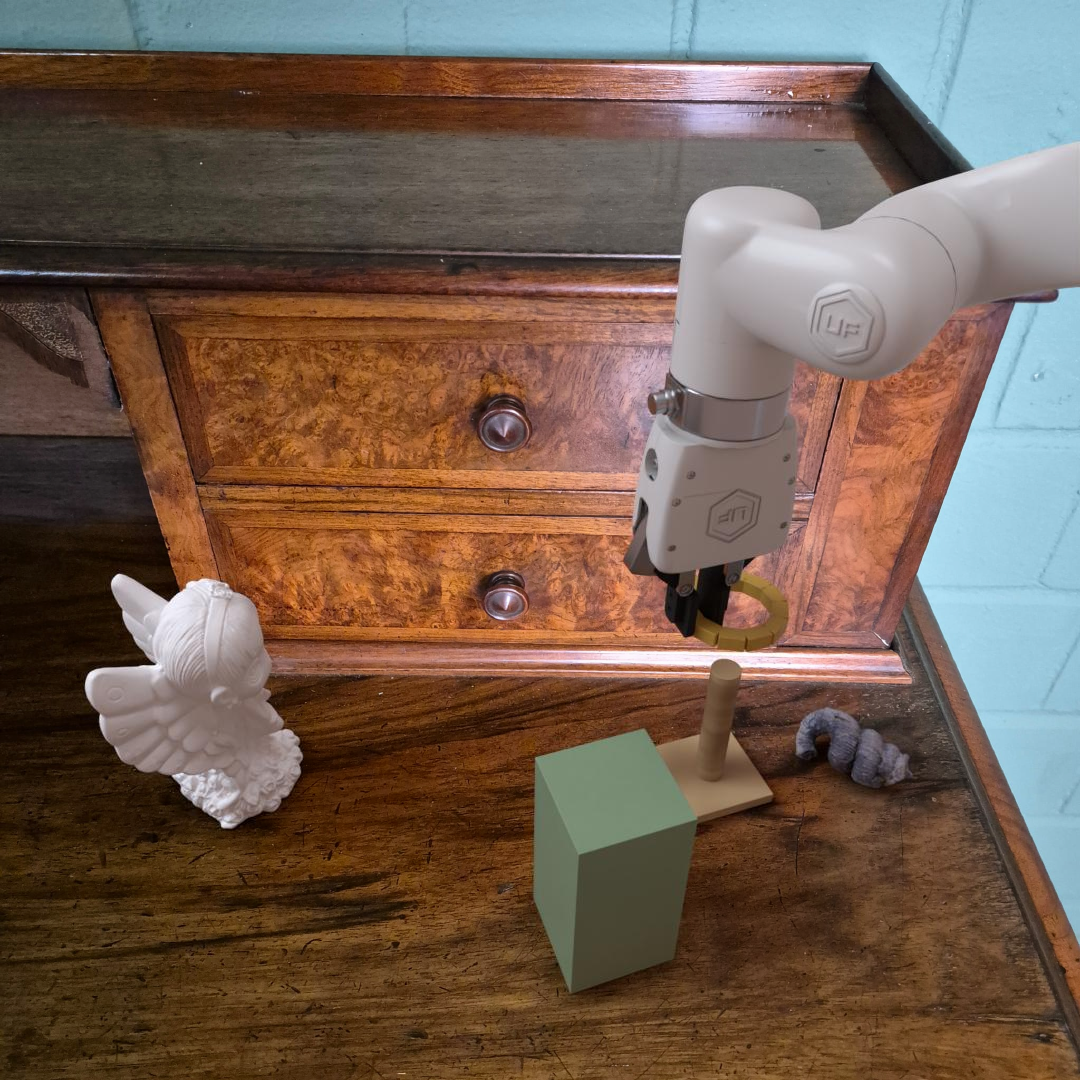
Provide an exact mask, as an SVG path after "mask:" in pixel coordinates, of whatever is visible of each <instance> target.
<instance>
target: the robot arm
mask: <svg viewBox="0 0 1080 1080" xmlns="http://www.w3.org/2000/svg"><path fill="white" fill-rule="evenodd" d="M677 281H678V282H677V288H676V289H677V291H676V298H675V299H676V300H675V309H674V320H673V329H672V337H671V348H670V358H669V367H668V372H665V379H664V380H665V381H664V388H661V389H659V391H657V392H650V393H649V394H648V396H647V408H648V412H649V413H650V415H653V416H655V418H654V420H653V423H652V426H651V428H650V432H649V435H648V438H647V441H646V444H645V446H644V447H645V448H644V451H643V455H642V459H641V463H640V467H639V471H638V478H637V483H636V488H635V495H634V501H633V510H632V520H631V521H632V522H631V523H632V525H631V526H632V527H631V528H632V530H631V531H632V535H633V537H632V538H631V539H632V540H631V541H630V544H629V545H628V548H627V550H626V551H625V554H624V556H623V557H622V562H623V564H624V565H625V567H626V568H627V570H628V571H629V573H630V574H631V575H635V576H642V577H657V578H658V580H660V581H662V582H663V583H664V584H666V592H665V593H666V594H665V600H664V614H665V617H666V618H667V620H668V621H669V623H670V624H674V625H675V627H676V628H677V629H678V631H679V632H680V634H681V636H682V637H683V638H685V639H687V638H691V637H693V634H694V633H695V626H696V619H697V613H698V609H699V611H700V612H701V613H702V615H703V616H704V617H705V618H707V619H709V620H711V621H713V622H714V623H716V624H718V625H720V626H723V625H724V618H725V613H726V611H727V610H728V608H729V607H728V606H729V602H730V601H729V600H730V595H731V591H730V589H731V586H733V585H735V584H737V583H738V582H739V581H740V578H741V574H742V571H743V570H744V569H745V568H747V566H749V565H750V564H751V562H753V561H754V560H755V559H756V558H757V557H761V556H765V555H768V554H771V553H773V552H776V551H777V550H779V549H781V548H782V547H783V546H784V545H785V543H787V540H788V537H789V534H790V530H791V525H792V520H793V514H794V509H795V508H794V506H795V502H796V501H795V500H796V491H797V481H798V469H799V468H798V467H799V445H798V444H799V443H798V427H797V419H796V418H795V416H794V415H793V414H792V413H791V412H789V411H788V410H789V404H790V399H791V395H792V391H793V390H792V389H793V384H794V379H795V378H794V377H795V374H796V369H797V363H798V360H799V361H801V362H803V363H805V364H806V365H809V366H810V367H812V368H815V369H817V370H819V371H822V372H824V373H826V374H828V375H830V376H833V377H838V378H841V379H843V380H851V381H857V382H858V381H859V382H869V381H877V380H881V379H885V378H888V377H890V376H892V375H894V374H897V373H899V372H900V371H902V370H904V369H905V368H906V367H908V366H909V365H910V364H911V363H913V362H914V361H915V360H916V359H917V358H918V357H919V356H920V355H921V353H922V352H923V351H924V350H925V349H926V348H927V346H928V345H929V344H930V343H931V342H932V341H933V339H934V338H935V337H936V336H937V334H938V333H939V332H940V331H941V329H942V328H943V327H944V326H945V325H946V323H947V322H949V320H950V319H951V317H953V315H954V314H955V313H956V311H959V310H963V309H966V308H969V307H974V306H979V305H983V304H984V305H985V304H989V303H992V302H997V301H1002V300H1006V299H1010V298H1011V299H1012V298H1017V297H1022V296H1028V295H1031V294H1037V293H1042V292H1048V291H1055V290H1065V289H1071V288H1072V289H1074V288H1080V140H1077V141H1074V142H1073V141H1072V142H1069V143H1064V144H1060V145H1056V146H1052V147H1048V148H1044V149H1040V150H1036V151H1033V152H1030V153H1025V154H1021V155H1018V156H1014V157H1012V158H1008V159H1003V160H1000V161H998V162H994V163H992V164H987V165H984V166H981V167H978V168H974V169H971V170H968V171H964V172H961V173H958V174H954V175H951V176H948V177H944V178H941V179H938V180H935V181H931V182H928V183H925V184H922V185H919V186H916V187H913V188H909V189H908V190H904V191H902V192H899V193H896V194H895V195H893V196H891V197H888V198H887V199H885V200H883V201H881V202H880V203H878V204H877V205H875V206H873V207H872V208H871V209H869V210H867V211H866V212H864V213H863V214H862V215H861V216H860V217H858V218H857V219H856V220H854V221H853V222H852V223H848V224H844V225H841V226H837V227H833V228H828V229H822V222H821V218H820V215H819V213H818V211H817V209H816V208H815V206H814V205H812V203H811V202H810V201H809V200H807V199H805V198H804V197H802V196H799V195H797V194H795V193H792V192H789V191H786V190H782V189H778V188H773V187H765V186H758V185H757V186H755V185H738V186H737V185H736V186H728V187H726V186H725V187H722V188H717V189H713V190H709V191H708V192H706V193H704V194H703V195H701V196H699V197H698V198H697V199H696V200H695V201H694V202H693V203H692V204H691V206H690V208H689V210H688V212H687V214H686V217H685V221H684V228H683V234H682V242H681V251H680V264H679V271H678V279H677ZM697 570H698V574H697ZM695 575H697V576H698V581H697V588H696V590H695V588H694V584H695ZM723 627H724V626H723Z"/></svg>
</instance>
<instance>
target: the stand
mask: <svg viewBox="0 0 1080 1080" xmlns="http://www.w3.org/2000/svg"><path fill="white" fill-rule="evenodd" d="M655 746H656V744H654V742H653V740H652V738H651V737H650V734H649V733H648V731H647V730H646V728H639V729H637V730H633V731H629V732H625V733H622V734H617V735H615V736H610V737H607V738H603V739H599V740H595V741H592V742H587V743H583V744H580V745H577V746H573V747H569V748H565V749H562V750H557V751H555V752H550V753H546V754H543V755H539V756H536V757H535V758H534V810H533V811H534V813H533V814H534V816H533V817H534V819H533V820H534V821H533V822H534V823H533V826H534V827H533V892H532V893H533V894H532V895H533V897H532V898H533V901H534V903H535V906H536V909H537V911H538V914H539V916H540V919H541V921H542V925H543V926H544V929H545V931H546V934H547V937H548V939H549V942H550V944H551V947H552V951H553V953H554V955H555V957H556V960H557V963H558V965H559V968H560V971H561V974H562V976H563V978H564V981H565V983H566V986H567V988H568V991H569V994H570V995H572V994H576V993H579V992H581V991H584V990H587V989H589V988H593V987H595V986H599V985H601V984H605V983H608V982H611V981H613V980H616V979H619V978H621V977H622V978H623V977H625V976H628V975H631V974H634V973H637V972H639V971H640V972H641V971H643V970H645V969H649V968H651V967H654V966H657V965H660V964H663V963H667V962H669V961H672V960H674V959H675V953H676V947H677V942H678V936H679V930H680V924H681V918H682V913H683V907H684V902H685V896H686V890H687V884H688V878H689V873H690V868H691V867H690V866H691V861H692V855H693V849H694V843H695V838H696V832H697V827H698V824H697V821H698V818H697V817H696V815H695V813H694V812H693V810H692V808H691V807H690V805H689V803H688V801H687V800H686V798H685V796H684V795H683V793H682V791H681V790H680V788H679V786H678V784H677V783H676V781H675V779H674V778H673V776H672V774H671V772H670V771H669V769H668V767H667V766H666V764H665V762H664V761H663V759H662V757H661V755H660V754H659V752H658V750H657V749H656V747H655Z"/></svg>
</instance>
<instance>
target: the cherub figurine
mask: <svg viewBox="0 0 1080 1080" xmlns="http://www.w3.org/2000/svg"><path fill="white" fill-rule="evenodd" d="M110 586H111V587H110V588H111V591H112V594H113V596H114V598H115V600H116V602H117V604H118V606H119V607H120V608H121V609H122V620H123V622H124V625H125V627H126V628H127V630H128V632H129V633H130V634H131V635H132V638H133V641H134V642H135V645H137V646H138V648H139V649H140V650H142V651H143V652H144V654H145V656H146V657H147V659H149V661H150V662H152V663H154V664H155V665H154V664H153V665H145V664H144V665H139V666H120V667H101V668H96V669H94V670H91V671H90V672H89V673H88V674H87V676H86V678H85V682H84V683H85V684H84V690H85V695H86V698H87V699H88V700H87V701H89V703H90V705H91V707H93V708H94V709H95V711H96V712H98V713H99V719H98V720H99V721H98V723H99V727H100V731H101V733H102V735H103V737H104V739H105V740H106V741H107V743H109V744H110V746H112V747H114V749H115V752H116V754H117V756H118V757H119V759H120V760H121V761H122V762H123V763H124V764H126V765H130V766H134V767H135V768H136V769H137V770H138V771H140V772H142V773H145V774H146V773H147V774H148V773H154V772H158V773H159V774H162V775H163V776H164V775H165V776H171V777H172V778H173V780H175V781H176V782H177V783H178V784H179V785H180V792H181V794H182V795H183V797H185V798H186V799H187V800H188V801H191V802H192V804H193V805H194V806H195V807H197V808H199V809H201V810H202V811H203V812H204V813H206V814H208V815H209V816H210V817H213V818H214V819H215V820H217V821H218V822H219V823H220V827H221V828H222V829H225V830H226V829H228V830H233V829H234V828H236V827H237V826H238V825H240V824H241V823H243V822H244V821H245V820H247V819H248V818H253V817H255V816H258V815H260V814H261V813H262V812H267V813H268V812H269V813H273V812H275V811H276V810H278V808H280V805H281V803H282V799H285V798H287V797H288V796H289V795H290V793H291V791H293V788H294V786H295V784H296V782H297V781H298V779H299V778H300V776H301V774H302V770H301V766H300V764H301V762H302V761H303V758H304V755H303V752H302V751H301V748H300V747H299V745H300V743H301V740H300V737H298V736H297V735H296V734H294V733H295V732H293V731H292V730H291V729H287V728H285V729H283V728H284V725H285V721H284V719H283V718H282V717H281V716H280V715H279V714H278V712H277V710H276V709H275V708H274V707H273V706H272V705H271V704H270V703H269V702H267V701H268V700H269V698H270V697H271V696H272V692H271V690H270V689H267V688H265V685H266V683H267V681H268V679H269V677H270V675H271V672H272V668H273V664H272V659H271V657H270V655H269V653H268V650H266V648H265V647H264V634H263V631H262V628H261V624H260V618H259V612H258V610H257V607H256V605H255V603H254V602H253V601H252V600H251V599H250V598H249V597H247V596H245V595H244V594H241V593H239V592H234V591H233V590H232V589H231V588H230V585H229V584H228V583H227V582H222V581H220V580H216V579H213V578H212V579H211V578H207V577H206V578H201V579H199V580H198V581H196V580H192V581H188V582H187V583H186V584H185V588H183V589H182V590H181V591H179V592H178V593H176V595H174V596H173V597H172V598H171V599H170V600H169V601H168V600H166V599H164V598H163V597H162V596H160V595H158V594H157V593H155V592H153V591H152V590H151V589H149V588H148V587H146V586H144V585H143V584H142V583H140V582H139V581H137V580H136V579H134V578H132V577H129V576H128V575H125V574H123V573H118V574H116V575H115V576H114V577H113V578H112V579H111V583H110Z"/></svg>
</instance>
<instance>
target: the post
mask: <svg viewBox="0 0 1080 1080" xmlns="http://www.w3.org/2000/svg"><path fill="white" fill-rule="evenodd" d="M742 672H743V670H742V667H741V665H740V664H739V663H738V662H737V661H735V660H733V659H730V658H719V659H716V660H714V661H713V662H712V664H711V665H710V671H709V677H708V681H707V688H706V695H705V702H704V708H703V713H702V722H701V726H700V733H699V734H695V735H692V736H688V737H685V738H680V739H677V740H674V741H669V742H665V743H662V744H659V745H655V747H656V749H657V750H658V752H659V754H660V755H661V757H662V759H663V761H664V762H665V764H666V766H667V767H668V769H669V771H670V772H671V774H672V776H673V778H674V779H675V781H676V783H677V784H678V786H679V788H680V790H681V791H682V793H683V795H684V796H685V798H686V800H687V801H688V803H689V805H690V807H691V808H692V810H693V812H694V813H695V815H696V817H697V818H698V821H697V825H698V824H702V823H705V822H708V821H711V820H715V819H718V818H722V817H724V816H728V815H731V814H735V813H739V812H741V811H745V810H748V809H752V808H754V807H758V806H762V805H764V804H767V803H772V802H773V797H774V793H773V791H772V790H771V788H770V787H769V786H768V784H767V782H766V781H765V779H764V778H763V776H762V775H761V774H760V772H759V771H758V769H757V768H756V766H755V765H754V763H753V762H752V761H751V759H750V758H749V756H748V754H747V753H746V752H745V750H744V749H743V747H742V746H741V744H740V743H739V741H738V740H737V738H736V737H735V735H734V734H733V732H732V726H733V721H734V715H735V711H736V706H737V701H738V694H739V689H740V684H741V678H742V674H743V673H742Z"/></svg>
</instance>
